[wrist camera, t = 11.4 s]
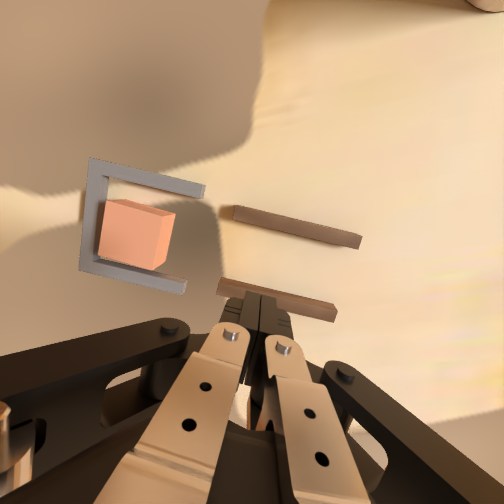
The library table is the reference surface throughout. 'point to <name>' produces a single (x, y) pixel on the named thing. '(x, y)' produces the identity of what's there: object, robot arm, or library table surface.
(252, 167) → the library table surface
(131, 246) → the terracotta block
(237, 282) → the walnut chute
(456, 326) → the library table surface
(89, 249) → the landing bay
